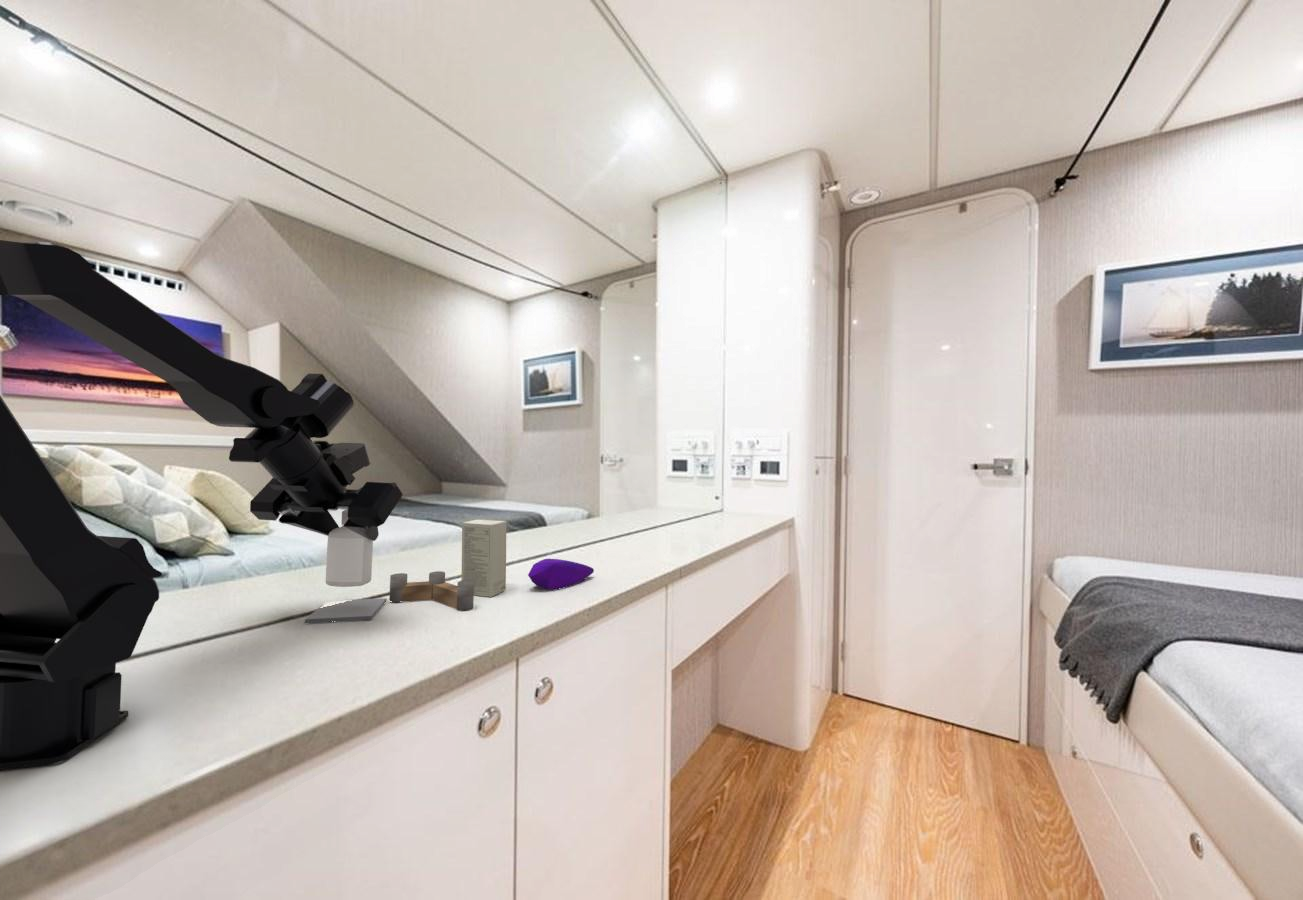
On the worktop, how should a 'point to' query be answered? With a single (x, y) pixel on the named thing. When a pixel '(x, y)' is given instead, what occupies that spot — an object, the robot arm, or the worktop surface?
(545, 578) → the purple faceted pebble
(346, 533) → the eye dropper bottle
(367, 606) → the coaster
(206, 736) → the worktop surface
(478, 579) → the skincare box
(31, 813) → the worktop surface
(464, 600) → the rail
